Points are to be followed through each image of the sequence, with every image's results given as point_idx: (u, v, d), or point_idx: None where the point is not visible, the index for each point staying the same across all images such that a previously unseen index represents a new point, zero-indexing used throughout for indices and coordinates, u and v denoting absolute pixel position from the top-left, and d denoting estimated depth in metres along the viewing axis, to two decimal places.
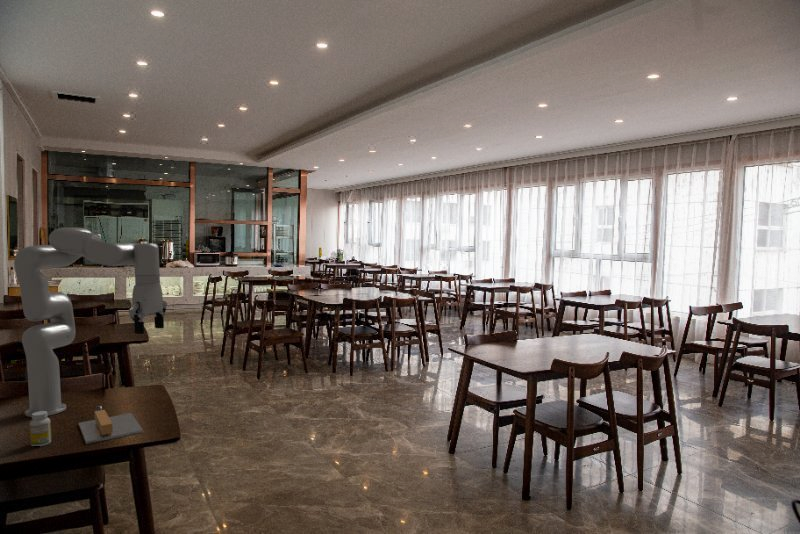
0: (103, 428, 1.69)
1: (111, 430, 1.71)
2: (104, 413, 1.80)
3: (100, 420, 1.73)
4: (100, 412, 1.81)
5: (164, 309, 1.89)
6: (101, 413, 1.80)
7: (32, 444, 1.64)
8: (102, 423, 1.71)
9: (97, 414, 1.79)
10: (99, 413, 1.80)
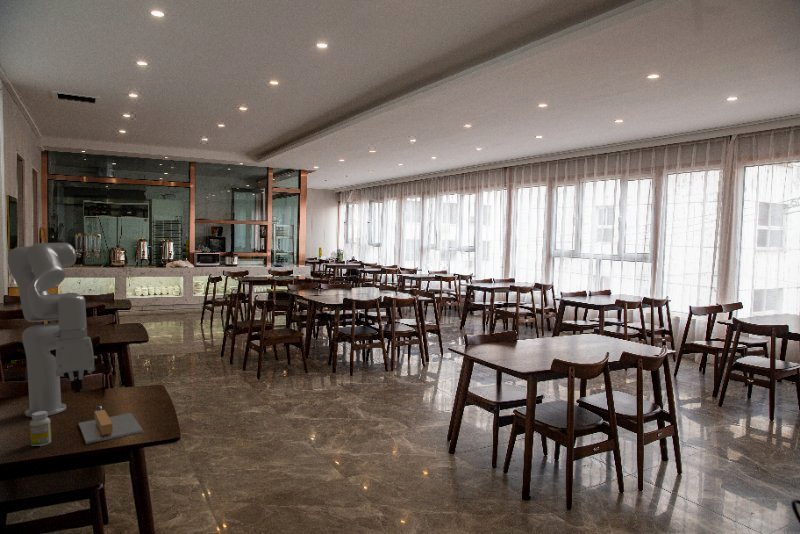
0: (103, 428, 1.69)
1: (111, 430, 1.71)
2: (104, 413, 1.80)
3: (100, 420, 1.73)
4: (100, 412, 1.81)
5: None
6: (101, 413, 1.80)
7: (32, 444, 1.64)
8: (102, 423, 1.71)
9: (97, 414, 1.79)
10: (99, 413, 1.80)
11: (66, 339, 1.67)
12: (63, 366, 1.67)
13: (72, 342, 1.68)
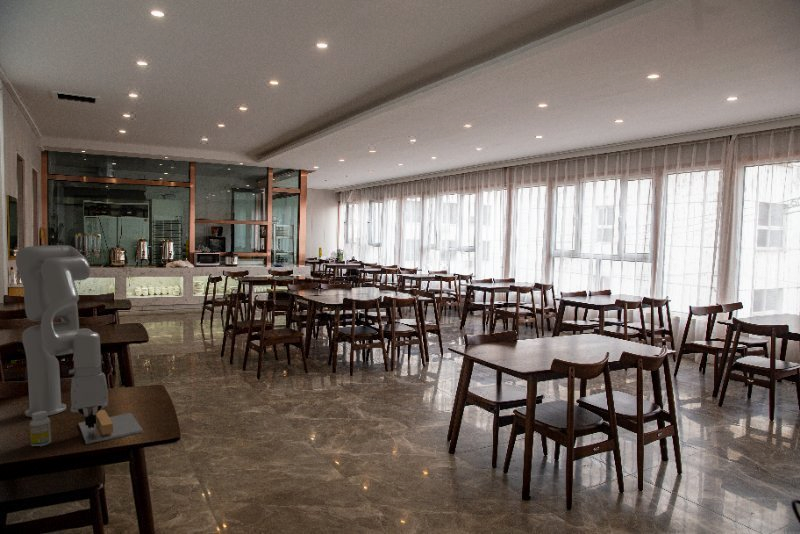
0: (104, 428, 1.69)
1: (111, 430, 1.71)
2: (104, 413, 1.80)
3: (100, 420, 1.73)
4: (100, 412, 1.81)
5: None
6: (101, 413, 1.80)
7: (32, 444, 1.64)
8: (102, 423, 1.71)
9: (97, 414, 1.79)
10: (99, 413, 1.80)
11: (81, 376, 1.70)
12: (78, 403, 1.70)
13: (87, 379, 1.71)
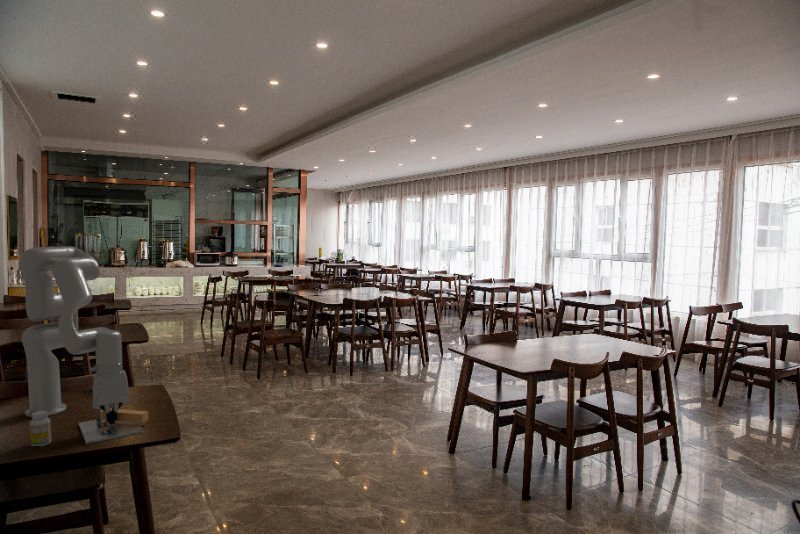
0: (143, 416, 1.79)
1: (147, 417, 1.82)
2: None
3: (128, 412, 1.80)
4: None
5: None
6: None
7: (32, 444, 1.64)
8: (137, 413, 1.80)
9: None
10: None
11: (103, 374, 1.74)
12: (100, 399, 1.74)
13: (109, 376, 1.75)
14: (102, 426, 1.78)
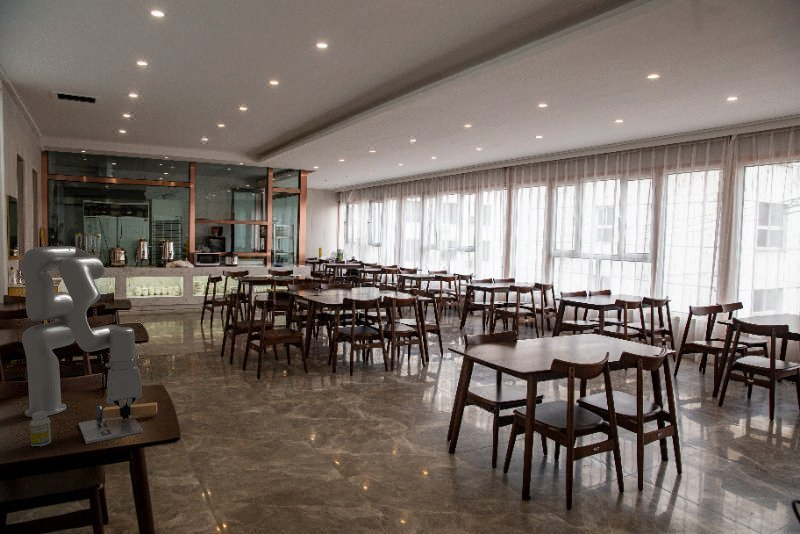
0: (156, 407, 1.89)
1: None
2: (118, 406, 1.87)
3: (139, 406, 1.87)
4: (112, 407, 1.85)
5: None
6: (115, 407, 1.86)
7: (32, 444, 1.64)
8: (150, 405, 1.88)
9: (116, 408, 1.85)
10: (112, 408, 1.85)
11: (117, 369, 1.79)
12: (114, 394, 1.79)
13: (122, 372, 1.80)
14: (102, 426, 1.78)
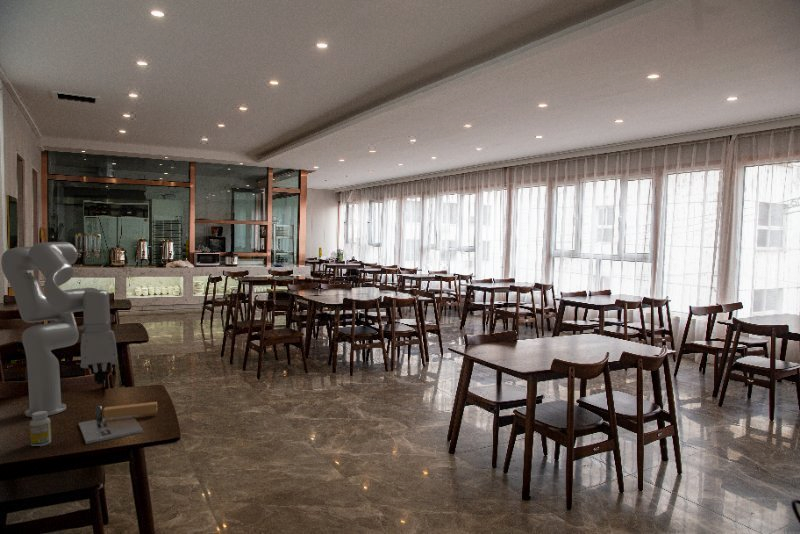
0: (156, 406, 1.90)
1: None
2: (118, 406, 1.87)
3: (139, 405, 1.88)
4: (113, 407, 1.86)
5: None
6: (115, 407, 1.86)
7: (32, 444, 1.64)
8: (150, 404, 1.89)
9: (116, 408, 1.85)
10: (112, 408, 1.85)
11: (91, 332, 1.73)
12: (88, 358, 1.73)
13: (96, 335, 1.75)
14: (102, 426, 1.78)
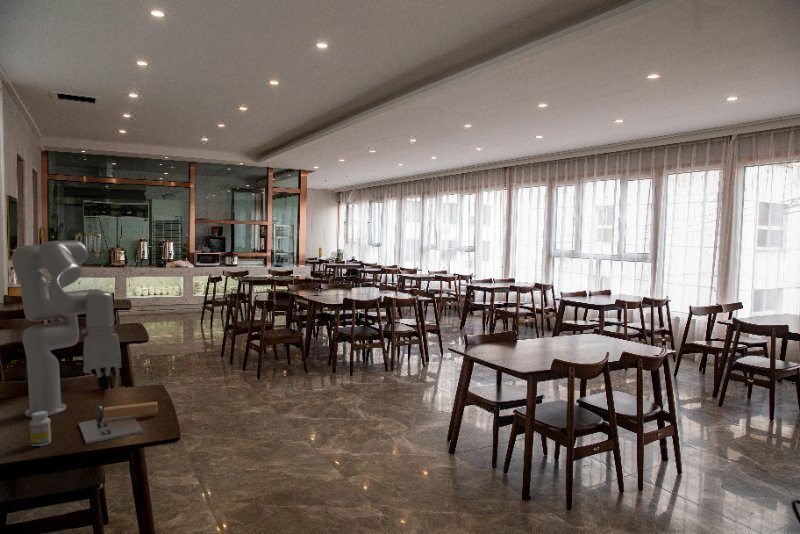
0: (156, 406, 1.90)
1: None
2: (118, 406, 1.87)
3: (139, 405, 1.88)
4: (113, 407, 1.86)
5: None
6: (115, 407, 1.86)
7: (32, 444, 1.64)
8: (150, 404, 1.89)
9: (116, 408, 1.85)
10: (112, 408, 1.85)
11: (94, 336, 1.67)
12: (91, 363, 1.67)
13: (100, 339, 1.68)
14: (102, 426, 1.78)
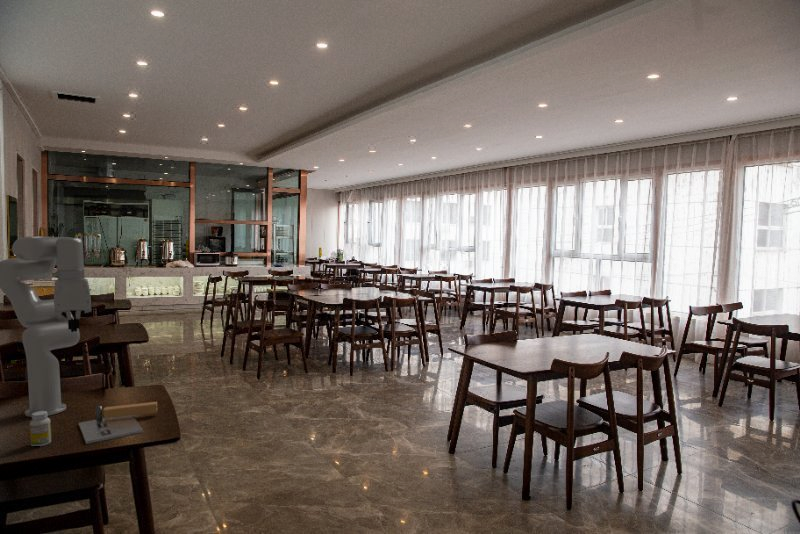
0: (156, 406, 1.90)
1: None
2: (118, 406, 1.87)
3: (139, 405, 1.88)
4: (113, 407, 1.86)
5: None
6: (115, 407, 1.86)
7: (32, 444, 1.64)
8: (150, 404, 1.89)
9: (116, 408, 1.85)
10: (112, 408, 1.85)
11: (64, 279, 1.74)
12: (61, 305, 1.74)
13: (70, 282, 1.75)
14: (102, 426, 1.78)
